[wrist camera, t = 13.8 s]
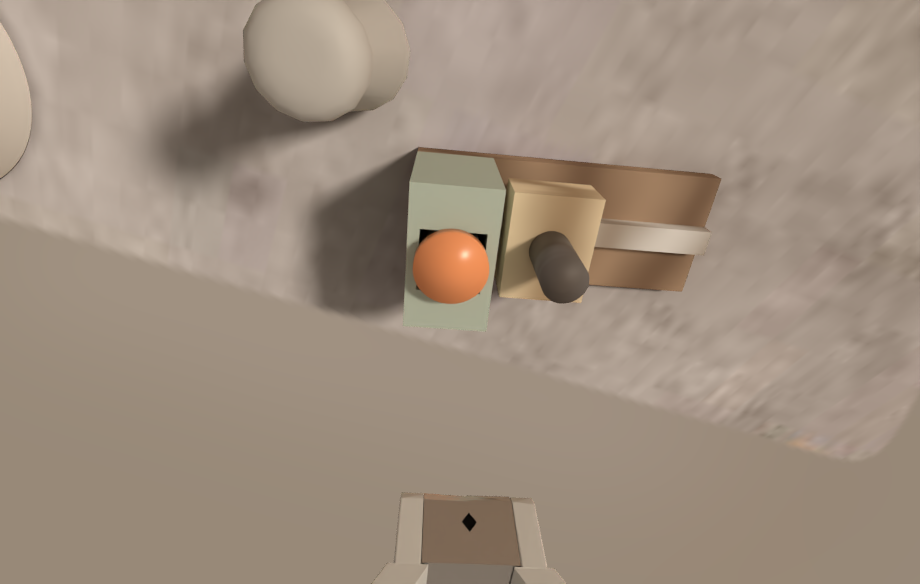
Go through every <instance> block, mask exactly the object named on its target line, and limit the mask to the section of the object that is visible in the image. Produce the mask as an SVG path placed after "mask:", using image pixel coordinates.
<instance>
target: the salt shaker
mask: <svg viewBox="0 0 920 584" xmlns="http://www.w3.org/2000/svg"><path fill="white" fill-rule="evenodd" d="M243 47H244V62H245V65H246V67H247V70H248V72H249V74H250V77H251V79H252V82H253V84H254V87H255V89H256V90H257V91H258V92H259V93H260V94H261V95H262V96H263V97H264V98H265V99H266V100H267V101H268V102H269V103H270V104H271V105H272V106H273V107H274V108H275V109H276V110H277V111H279V112H281V113H284V114H286V115H288V116H290V117H293V118H295V119H297V120H299V121H302V122H320V121H333V120H335V119H337V118H339V117H340V116H342V115H344V114H346V113H348V112H349V111H367V110H374V109H376V108H378V107H380V106H382V105H383V104H385V103H387V102H389V101H391V100H392V99H394V97H395V96H396V94H397V93H398V91H399V89H400V88H401V86H402V84H403V83H404V81H405V80H406V78H407V72H408V65H409V58H410V48H409V44H408V41H407V37H406V33H405V30H404V26H403V23H402V22H401V21H400V19H399V18H398V17H397V16H396V14H395V13H394V12H393V10H392V9H391V8H390V7H389V5H388V4H387V3H386V1H385V0H262V1H260V2H259V3H257V4H256V5H255V7H254V9H253V11H252V13H251V15H250V17H249V19H248V21H247V23H246V26H245V28H244V30H243Z"/></svg>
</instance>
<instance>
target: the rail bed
mask: <svg viewBox="0 0 920 584" xmlns="http://www.w3.org/2000/svg"><path fill="white" fill-rule="evenodd" d="M418 151H421V152H432V153H443V154H454V155H465V156H476V157H487V158H494V160H495V163H496V166H497V168H498V171H499V173H500V176H501V178H502V181H503V183H504V186H505V188H506V192H507V185H508V178H515V179H526V180H538V181H549V182H560V183H572V184H583V185H591V186H592V187H593V188H594V189H595V190H596V191H597V192H598V193H599V194H600V195H601V196H602V197H603V198H604V199H605V200H606V202H605V206H604V210H603V214H602V218H601V222H600V226H599V231H598V235H597V239H596V243H595V247H594V251H593V255H592V259H591V264H590V268H589V272H588V273H589V285H601V286H614V287H628V288H641V289H655V290H668V291H681V292H682V290H683V287H684V284H685V281H686V278H687V276H688V273H689V270H690V267H691V264H692V261H693V258H694V256H695V255H703V256H704V253H705V250H706V248H707V245H708V242H709V239H710V237H711V234H712V232H710V231H709V230H708V229H706V228H705V224H706V221H707V218H708V216H709V213H710V210H711V207H712V204H713V201H714V199H715V196H716V193H717V190H718V187H719V184H720V181H721V178H719V177H717V176H715V175H713V174H705V173H695V172H684V171H673V170H662V169H651V168H640V167H629V166H618V165H607V164H596V163H586V162H575V161H564V160H553V159H542V158H531V157H520V156H509V155H498V154H487V153H477V152H466V151H455V150H444V149H433V148H422V147H419V148H418ZM505 199H506V195H505ZM504 206H505V202H504ZM503 213H504V209H503ZM502 220H503V216H502ZM501 227H502V223H501ZM427 234H428V229H423V235H422V240H424V239H425V238H426V237H427ZM500 234H501V230H500ZM499 241H500V237H499ZM498 248H499V244H498ZM497 255H498V251H497ZM496 262H497V259H496ZM495 269H496V266H495ZM494 278H495V273H494Z"/></svg>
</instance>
